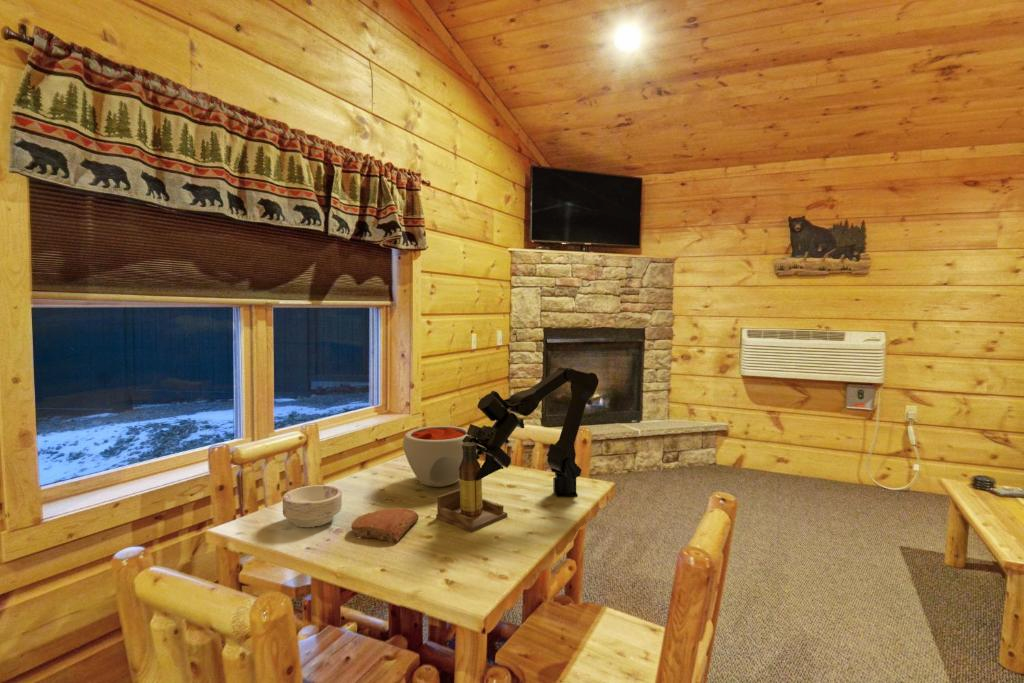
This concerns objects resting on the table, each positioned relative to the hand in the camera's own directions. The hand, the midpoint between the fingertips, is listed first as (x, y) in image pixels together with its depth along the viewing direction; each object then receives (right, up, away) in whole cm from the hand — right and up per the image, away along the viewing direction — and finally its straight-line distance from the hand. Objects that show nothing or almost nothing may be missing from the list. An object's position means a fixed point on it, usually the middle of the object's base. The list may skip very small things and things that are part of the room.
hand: (467, 475), depth 149 cm
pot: (-12, -10, +30) cm, 34 cm away
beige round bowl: (-42, -12, -2) cm, 44 cm away
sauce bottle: (+1, -11, +1) cm, 11 cm away
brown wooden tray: (+1, -12, +1) cm, 12 cm away
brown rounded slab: (-22, -13, -7) cm, 26 cm away
